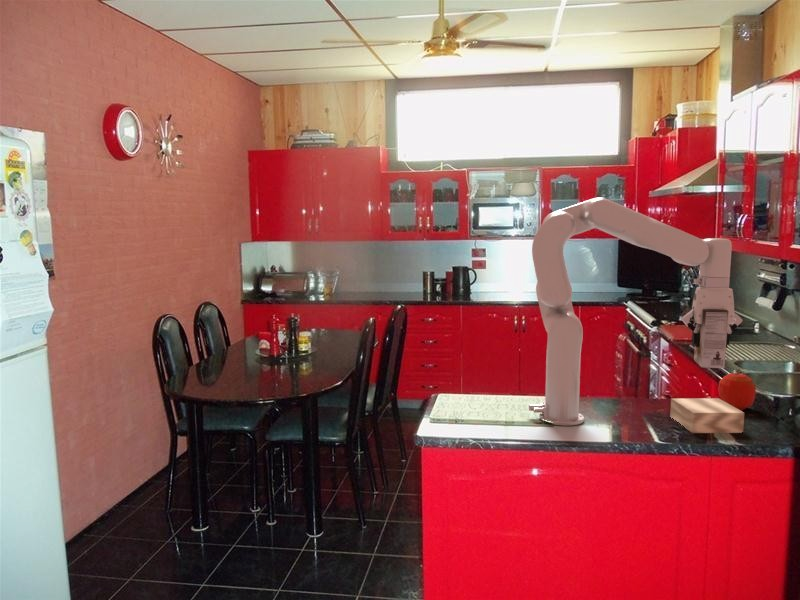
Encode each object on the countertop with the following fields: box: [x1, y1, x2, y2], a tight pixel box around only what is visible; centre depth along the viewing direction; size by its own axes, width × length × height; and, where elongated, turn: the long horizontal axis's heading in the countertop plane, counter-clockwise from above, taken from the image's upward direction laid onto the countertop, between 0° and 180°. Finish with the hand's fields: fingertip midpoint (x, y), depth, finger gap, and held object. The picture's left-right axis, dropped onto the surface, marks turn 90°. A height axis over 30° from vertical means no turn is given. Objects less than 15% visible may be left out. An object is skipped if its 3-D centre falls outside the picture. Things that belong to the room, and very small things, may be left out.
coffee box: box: [693, 309, 729, 369], centre depth 181 cm, size 9×6×16 cm
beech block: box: [669, 397, 745, 434], centre depth 184 cm, size 14×14×6 cm
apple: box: [717, 372, 757, 411], centre depth 200 cm, size 10×10×12 cm
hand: (710, 346), depth 181 cm, fingers closed on coffee box, 6 cm apart
